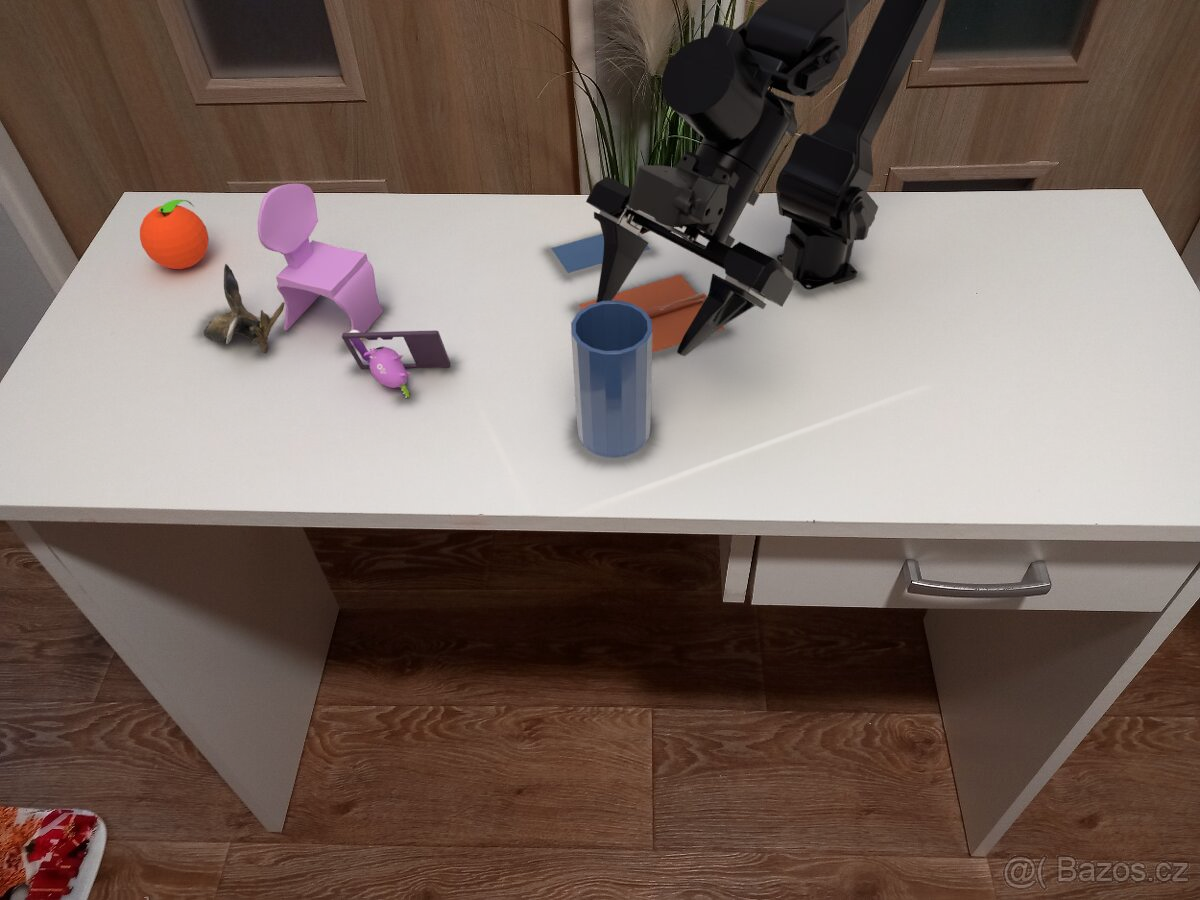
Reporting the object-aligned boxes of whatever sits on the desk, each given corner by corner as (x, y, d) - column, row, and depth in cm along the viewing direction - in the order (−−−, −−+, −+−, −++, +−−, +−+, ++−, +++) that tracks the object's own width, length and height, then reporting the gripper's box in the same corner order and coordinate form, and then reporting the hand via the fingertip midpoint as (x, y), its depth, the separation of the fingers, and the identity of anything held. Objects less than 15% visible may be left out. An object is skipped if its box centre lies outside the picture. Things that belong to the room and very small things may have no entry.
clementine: (182, 235, 106) (158, 182, 101) (234, 243, 105) (212, 190, 99) (141, 276, 101) (114, 222, 96) (195, 285, 100) (171, 231, 94)
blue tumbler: (631, 400, 86) (631, 292, 76) (661, 446, 82) (665, 339, 72) (567, 421, 84) (558, 313, 75) (595, 470, 80) (590, 363, 71)
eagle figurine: (306, 314, 94) (246, 272, 96) (267, 293, 87) (203, 248, 89) (266, 375, 94) (207, 331, 96) (223, 359, 87) (160, 312, 89)
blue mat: (631, 229, 104) (631, 225, 104) (650, 252, 101) (650, 248, 101) (551, 251, 102) (551, 247, 102) (568, 276, 99) (567, 272, 99)
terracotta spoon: (699, 290, 96) (699, 283, 95) (713, 308, 94) (713, 301, 93) (605, 319, 93) (605, 312, 93) (618, 337, 91) (618, 331, 91)
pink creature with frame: (438, 323, 84) (342, 325, 84) (435, 373, 82) (337, 375, 82) (451, 357, 90) (361, 359, 90) (448, 404, 88) (357, 406, 88)
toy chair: (350, 356, 91) (310, 231, 80) (277, 336, 94) (229, 212, 82) (392, 306, 96) (360, 182, 85) (322, 288, 99) (282, 165, 87)
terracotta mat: (680, 277, 98) (680, 274, 98) (724, 332, 92) (725, 329, 92) (579, 308, 95) (578, 304, 95) (617, 367, 89) (617, 363, 89)
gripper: (598, 84, 72) (509, 262, 75) (792, 168, 63) (683, 365, 66) (660, 137, 81) (579, 292, 84) (836, 216, 72) (739, 386, 75)
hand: (639, 330), depth 77 cm, fingers open, 9 cm apart
